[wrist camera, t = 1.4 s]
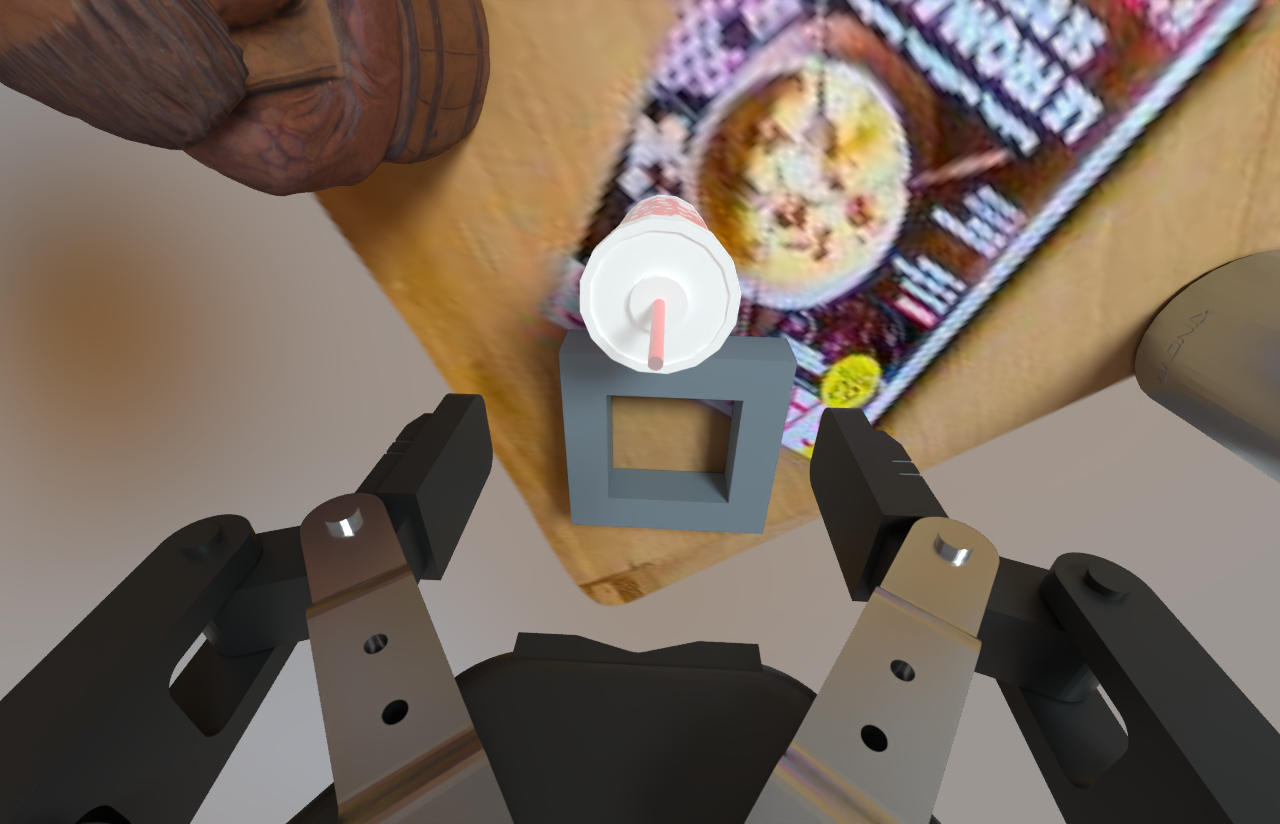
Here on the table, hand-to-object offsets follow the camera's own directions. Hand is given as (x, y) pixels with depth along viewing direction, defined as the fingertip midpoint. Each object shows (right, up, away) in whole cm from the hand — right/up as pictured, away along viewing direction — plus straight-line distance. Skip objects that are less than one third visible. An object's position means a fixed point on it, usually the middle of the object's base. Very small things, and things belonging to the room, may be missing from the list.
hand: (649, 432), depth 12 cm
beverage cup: (+1, +9, +15) cm, 18 cm away
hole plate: (+2, 0, +21) cm, 21 cm away
